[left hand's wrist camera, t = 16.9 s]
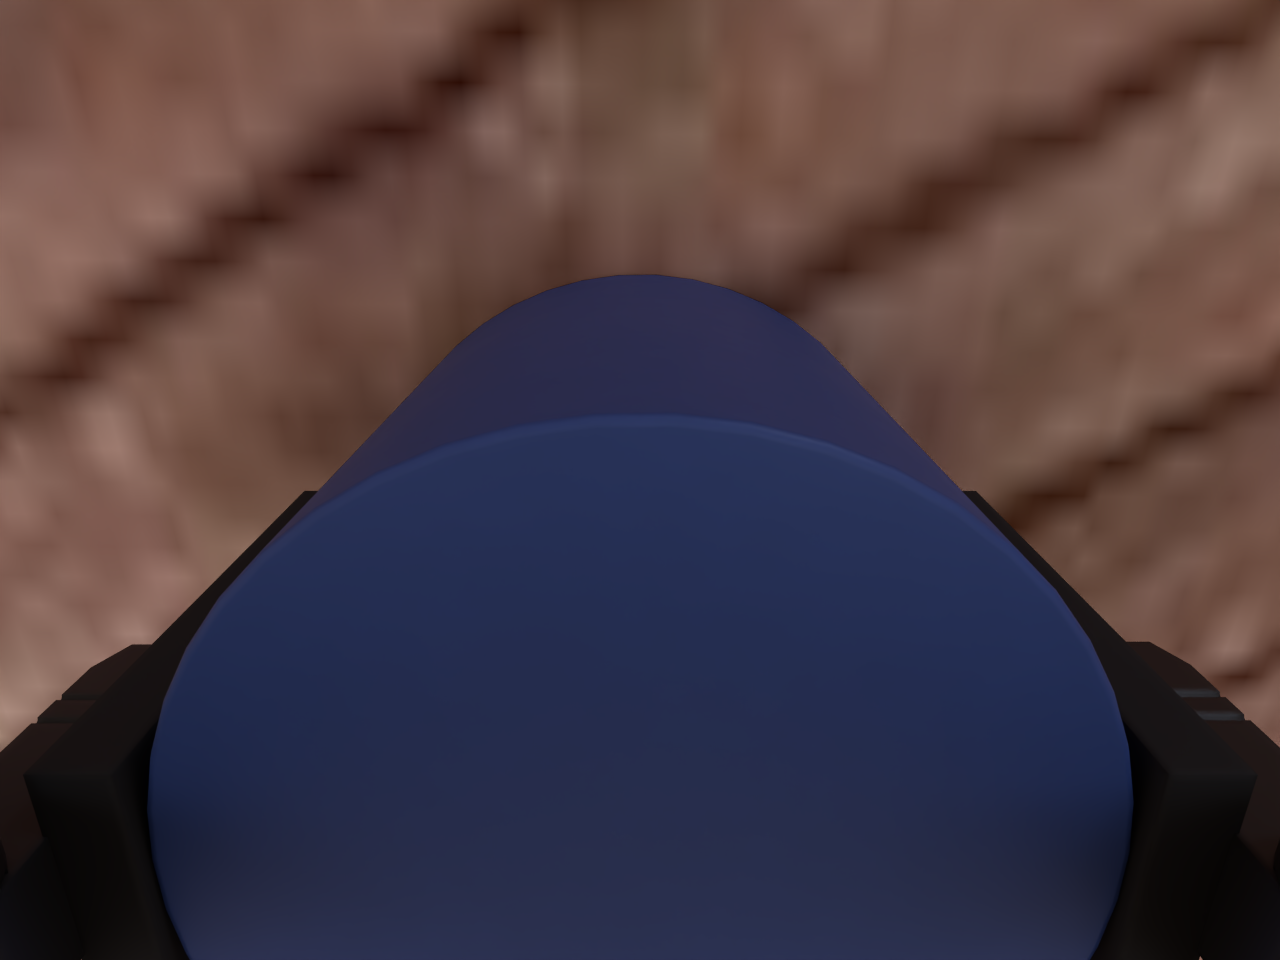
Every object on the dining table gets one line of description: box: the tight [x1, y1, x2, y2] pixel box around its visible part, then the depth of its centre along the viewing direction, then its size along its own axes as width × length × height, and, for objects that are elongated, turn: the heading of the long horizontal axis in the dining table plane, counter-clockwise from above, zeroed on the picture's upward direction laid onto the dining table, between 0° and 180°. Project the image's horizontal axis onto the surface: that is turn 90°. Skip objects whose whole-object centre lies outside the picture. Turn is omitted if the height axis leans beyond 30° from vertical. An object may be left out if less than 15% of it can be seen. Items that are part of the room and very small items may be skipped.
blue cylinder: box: [147, 275, 1134, 960], centre depth 11 cm, size 9×9×8 cm
